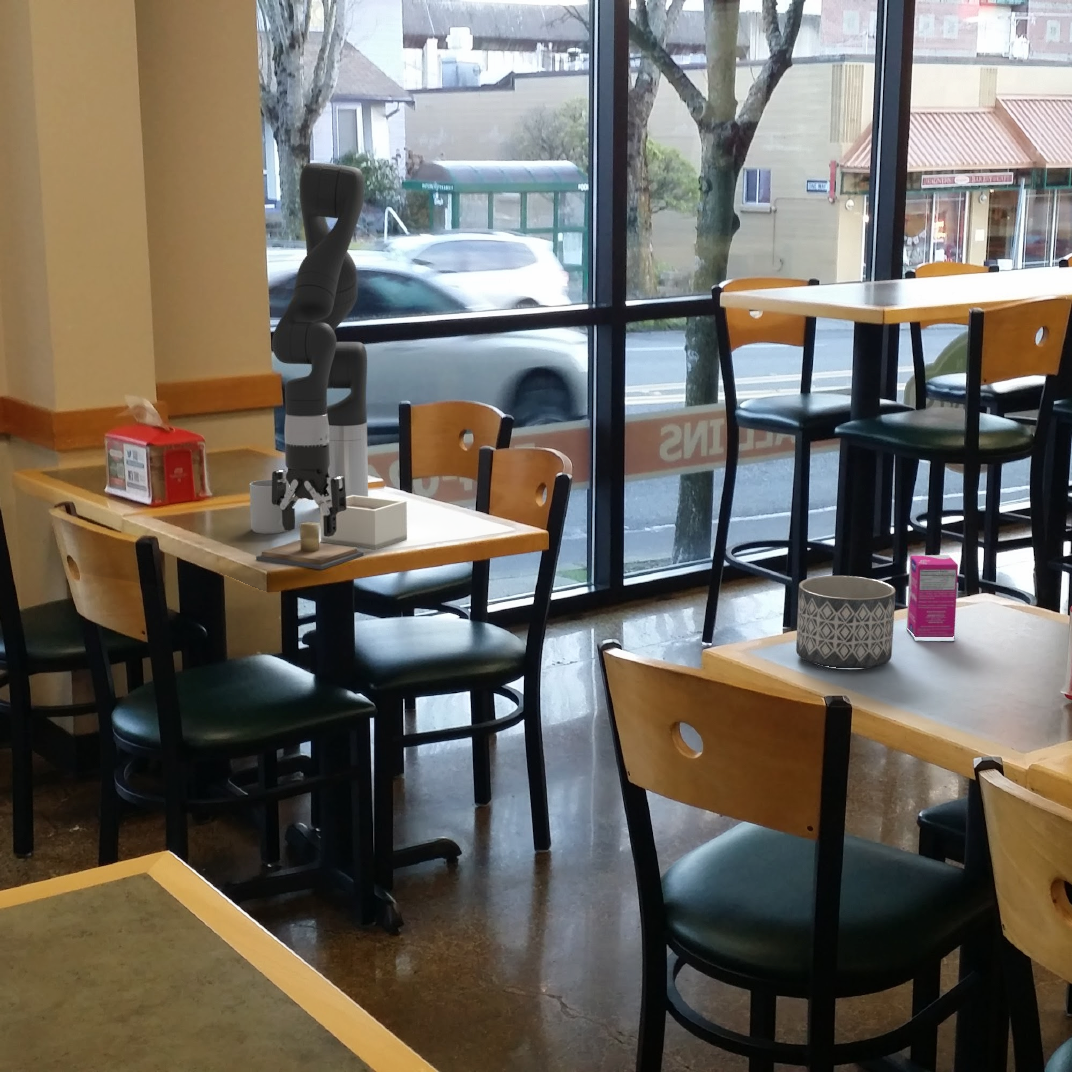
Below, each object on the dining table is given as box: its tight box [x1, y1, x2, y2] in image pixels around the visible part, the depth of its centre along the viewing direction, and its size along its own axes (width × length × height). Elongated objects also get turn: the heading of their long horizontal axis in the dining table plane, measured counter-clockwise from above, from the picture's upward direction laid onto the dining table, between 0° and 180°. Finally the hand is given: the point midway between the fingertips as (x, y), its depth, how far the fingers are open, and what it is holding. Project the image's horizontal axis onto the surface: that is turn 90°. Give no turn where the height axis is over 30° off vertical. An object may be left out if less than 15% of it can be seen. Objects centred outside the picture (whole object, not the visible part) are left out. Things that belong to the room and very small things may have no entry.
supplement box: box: [906, 554, 959, 637], centre depth 215 cm, size 6×6×12 cm
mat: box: [255, 551, 365, 570], centre depth 261 cm, size 14×12×1 cm
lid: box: [261, 521, 359, 565], centre depth 261 cm, size 13×11×5 cm
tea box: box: [319, 495, 408, 550], centre depth 274 cm, size 12×10×7 cm
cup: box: [249, 479, 290, 535], centre depth 281 cm, size 7×10×9 cm
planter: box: [795, 575, 896, 669], centre depth 203 cm, size 13×13×10 cm
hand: (309, 532), depth 261 cm, fingers open, 8 cm apart
